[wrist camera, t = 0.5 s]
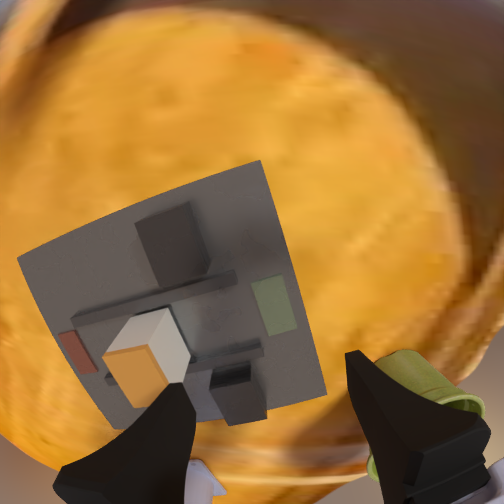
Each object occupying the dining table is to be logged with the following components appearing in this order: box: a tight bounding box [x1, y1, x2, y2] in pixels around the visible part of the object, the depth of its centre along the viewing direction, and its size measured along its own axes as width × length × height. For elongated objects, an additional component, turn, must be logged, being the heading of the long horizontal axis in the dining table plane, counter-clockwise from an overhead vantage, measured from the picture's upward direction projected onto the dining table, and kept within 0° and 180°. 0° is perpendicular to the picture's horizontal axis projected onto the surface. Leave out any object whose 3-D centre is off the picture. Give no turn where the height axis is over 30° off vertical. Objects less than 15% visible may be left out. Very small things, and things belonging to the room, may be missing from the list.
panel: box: [17, 160, 327, 429], centre depth 21 cm, size 20×18×4 cm
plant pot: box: [367, 350, 485, 483], centre depth 20 cm, size 9×9×9 cm
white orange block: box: [102, 308, 191, 408], centre depth 18 cm, size 3×4×5 cm
